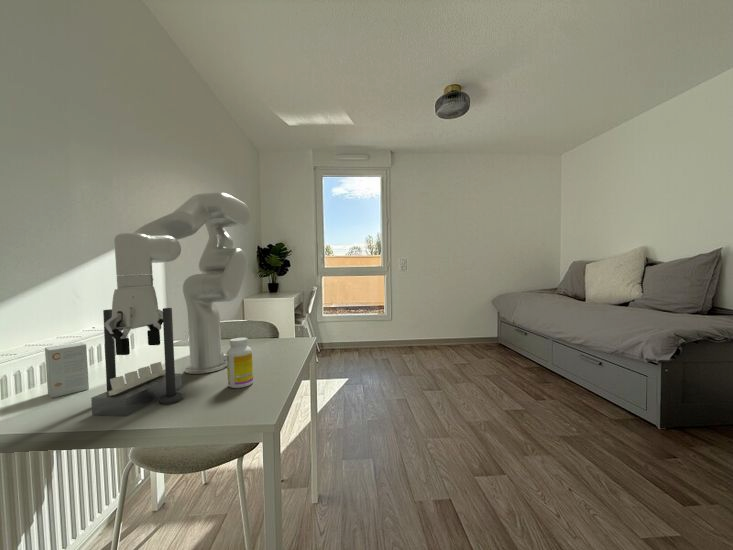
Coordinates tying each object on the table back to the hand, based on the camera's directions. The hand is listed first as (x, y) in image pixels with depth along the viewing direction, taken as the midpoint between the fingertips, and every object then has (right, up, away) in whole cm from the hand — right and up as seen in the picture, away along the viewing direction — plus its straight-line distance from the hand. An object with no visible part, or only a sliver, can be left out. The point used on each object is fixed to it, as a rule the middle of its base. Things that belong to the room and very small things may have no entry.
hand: (139, 349), depth 86 cm
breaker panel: (+1, -13, 0) cm, 13 cm away
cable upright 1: (-8, -13, +1) cm, 15 cm away
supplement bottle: (+23, -12, +9) cm, 27 cm away
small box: (-26, -14, +9) cm, 31 cm away
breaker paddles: (0, -9, 0) cm, 9 cm away
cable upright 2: (+9, -13, -1) cm, 15 cm away
